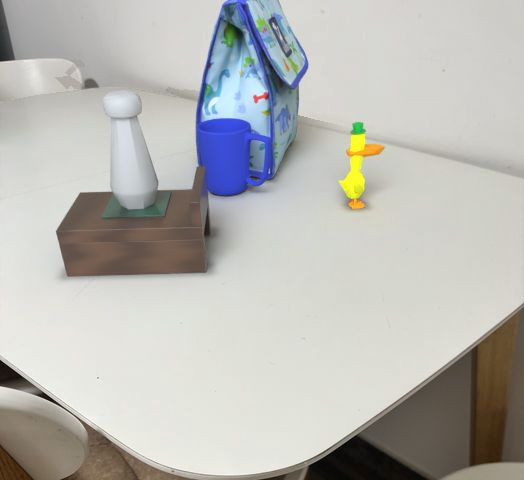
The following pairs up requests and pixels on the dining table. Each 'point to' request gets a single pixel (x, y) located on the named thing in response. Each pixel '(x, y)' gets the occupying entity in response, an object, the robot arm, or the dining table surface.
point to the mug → (229, 154)
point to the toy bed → (137, 233)
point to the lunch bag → (254, 77)
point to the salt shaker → (129, 152)
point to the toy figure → (357, 164)
